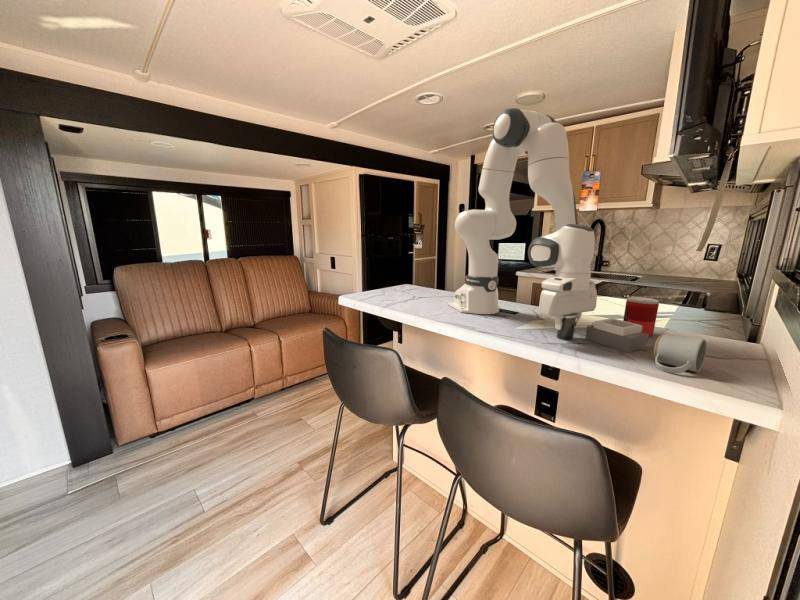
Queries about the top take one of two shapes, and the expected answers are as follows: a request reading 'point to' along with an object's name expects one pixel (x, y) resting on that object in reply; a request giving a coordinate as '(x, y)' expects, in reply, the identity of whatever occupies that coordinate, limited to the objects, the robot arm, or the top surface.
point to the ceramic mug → (680, 353)
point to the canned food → (642, 313)
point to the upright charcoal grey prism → (567, 327)
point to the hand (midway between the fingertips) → (565, 327)
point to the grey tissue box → (617, 334)
